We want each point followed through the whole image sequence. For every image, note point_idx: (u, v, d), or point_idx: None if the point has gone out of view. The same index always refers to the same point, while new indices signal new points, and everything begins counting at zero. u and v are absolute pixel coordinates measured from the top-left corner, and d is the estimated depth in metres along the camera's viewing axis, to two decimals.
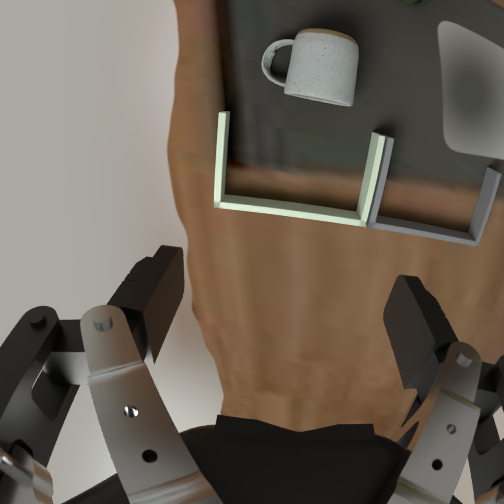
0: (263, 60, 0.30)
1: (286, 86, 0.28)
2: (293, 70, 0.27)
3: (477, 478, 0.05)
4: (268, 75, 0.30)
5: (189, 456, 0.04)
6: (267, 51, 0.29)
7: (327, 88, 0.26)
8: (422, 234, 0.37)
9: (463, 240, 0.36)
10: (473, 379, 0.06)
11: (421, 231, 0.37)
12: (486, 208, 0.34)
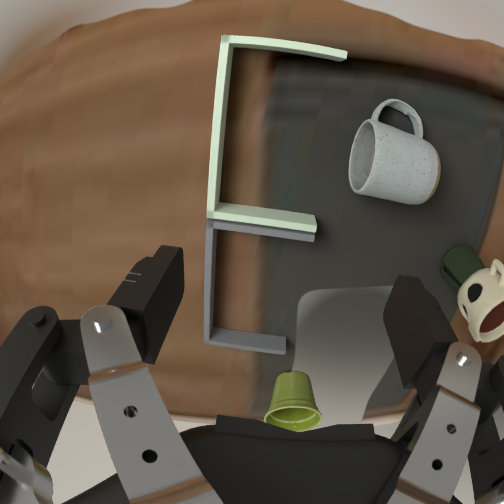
0: (400, 102, 0.26)
1: (379, 123, 0.25)
2: (399, 134, 0.24)
3: (477, 478, 0.05)
4: (385, 104, 0.26)
5: (189, 456, 0.04)
6: (410, 108, 0.26)
7: (383, 170, 0.24)
8: (206, 283, 0.37)
9: (207, 327, 0.41)
10: (473, 379, 0.06)
11: (209, 281, 0.37)
12: (246, 345, 0.43)
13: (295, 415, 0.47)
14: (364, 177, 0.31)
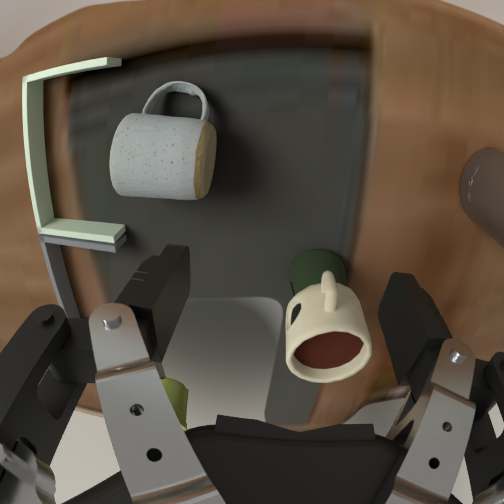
0: (179, 82, 0.24)
1: (131, 116, 0.22)
2: (147, 123, 0.22)
3: (474, 475, 0.05)
4: (158, 91, 0.24)
5: (194, 456, 0.04)
6: (192, 86, 0.24)
7: (120, 169, 0.22)
8: (55, 289, 0.35)
9: None
10: (466, 376, 0.06)
11: (57, 288, 0.35)
12: None
13: None
14: None
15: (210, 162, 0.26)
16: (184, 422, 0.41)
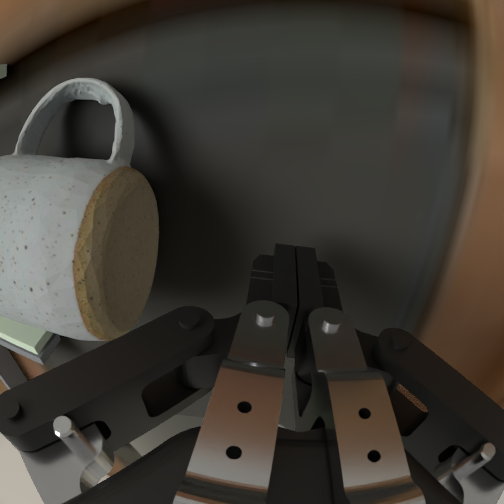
0: (77, 81, 0.10)
1: None
2: None
3: (414, 453, 0.06)
4: (40, 104, 0.10)
5: (268, 471, 0.04)
6: (98, 86, 0.10)
7: None
8: None
9: None
10: (331, 345, 0.07)
11: (0, 375, 0.22)
12: None
13: None
14: None
15: (139, 254, 0.12)
16: None
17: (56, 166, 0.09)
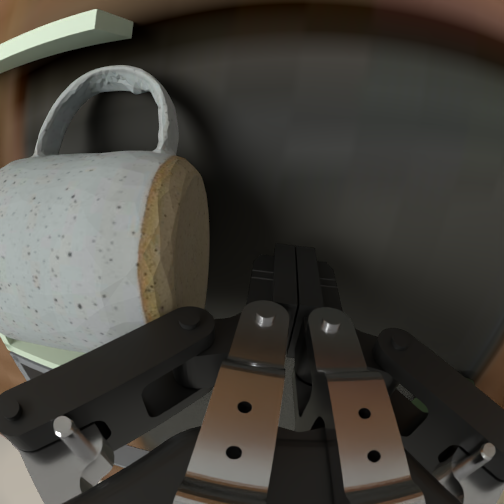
0: (105, 70, 0.09)
1: (1, 173, 0.08)
2: (19, 190, 0.07)
3: (414, 453, 0.06)
4: (61, 99, 0.09)
5: (268, 471, 0.04)
6: (131, 72, 0.09)
7: None
8: None
9: None
10: (330, 345, 0.07)
11: None
12: None
13: None
14: None
15: (197, 255, 0.11)
16: None
17: (95, 159, 0.08)
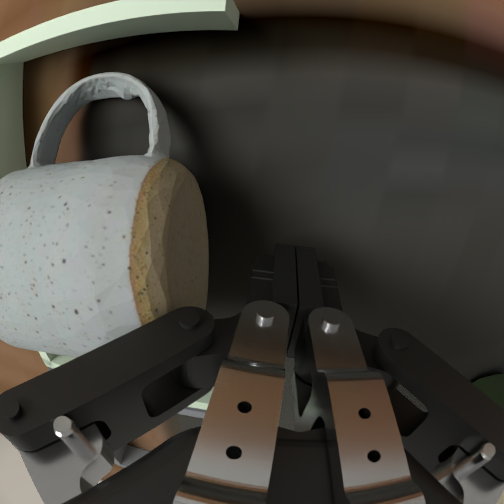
0: (94, 78, 0.09)
1: None
2: (15, 200, 0.07)
3: (414, 453, 0.06)
4: (54, 109, 0.09)
5: (268, 471, 0.04)
6: (120, 79, 0.09)
7: None
8: None
9: None
10: (331, 345, 0.07)
11: None
12: None
13: None
14: None
15: (194, 256, 0.11)
16: None
17: (86, 166, 0.08)
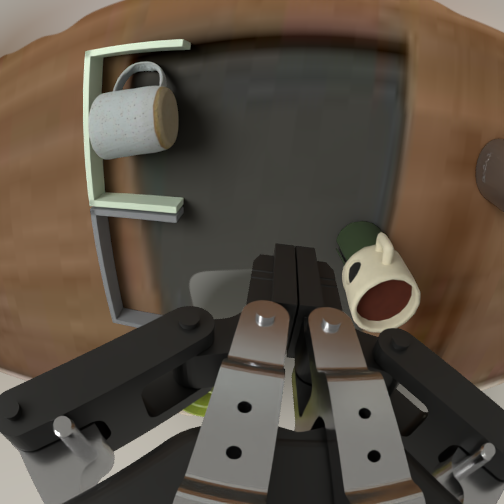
0: (140, 63, 0.27)
1: (103, 94, 0.26)
2: (115, 95, 0.25)
3: (414, 453, 0.06)
4: (123, 73, 0.27)
5: (268, 471, 0.04)
6: (149, 63, 0.27)
7: (97, 132, 0.25)
8: (101, 264, 0.39)
9: (111, 307, 0.43)
10: (330, 345, 0.07)
11: (103, 263, 0.39)
12: None
13: None
14: None
15: (171, 118, 0.29)
16: None
17: None
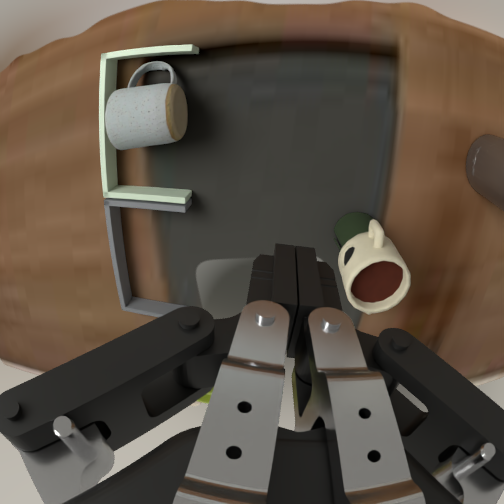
0: (152, 62, 0.30)
1: (118, 90, 0.28)
2: (130, 91, 0.28)
3: (414, 452, 0.06)
4: (137, 71, 0.30)
5: (268, 471, 0.04)
6: (161, 63, 0.30)
7: (113, 124, 0.28)
8: (112, 253, 0.42)
9: (121, 294, 0.46)
10: (331, 345, 0.07)
11: (114, 251, 0.42)
12: (155, 312, 0.47)
13: None
14: None
15: (181, 113, 0.31)
16: None
17: None
